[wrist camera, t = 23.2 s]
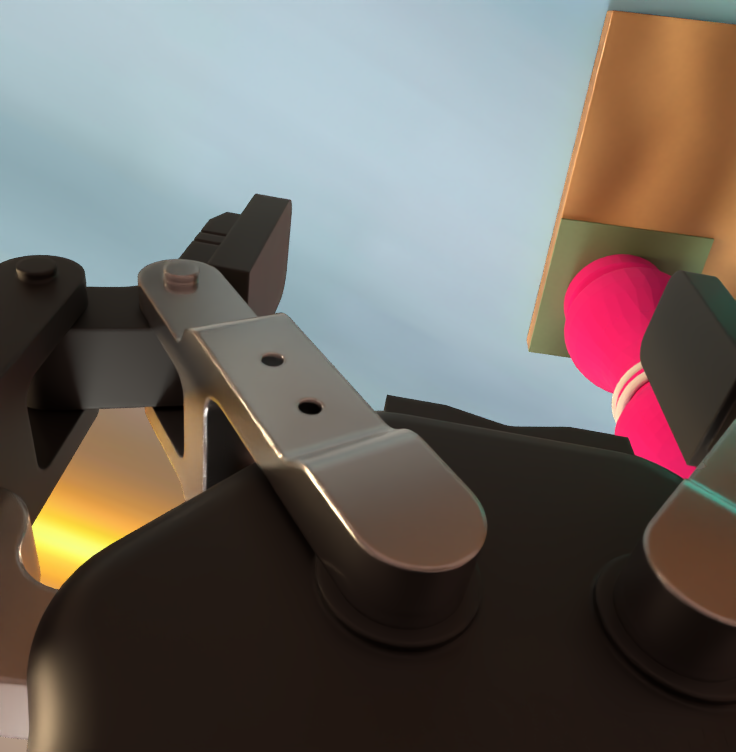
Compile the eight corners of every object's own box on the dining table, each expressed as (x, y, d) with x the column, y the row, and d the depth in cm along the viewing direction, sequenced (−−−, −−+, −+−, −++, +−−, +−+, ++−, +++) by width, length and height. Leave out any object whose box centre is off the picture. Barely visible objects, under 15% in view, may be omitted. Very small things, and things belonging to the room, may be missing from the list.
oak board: (526, 340, 46) (528, 351, 44) (607, 10, 36) (613, 10, 34) (733, 370, 45) (743, 383, 43) (874, 41, 35) (892, 42, 34)
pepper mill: (621, 220, 39) (748, 384, 22) (701, 297, 41) (878, 506, 24) (531, 304, 43) (580, 506, 25) (609, 372, 44) (705, 606, 27)
